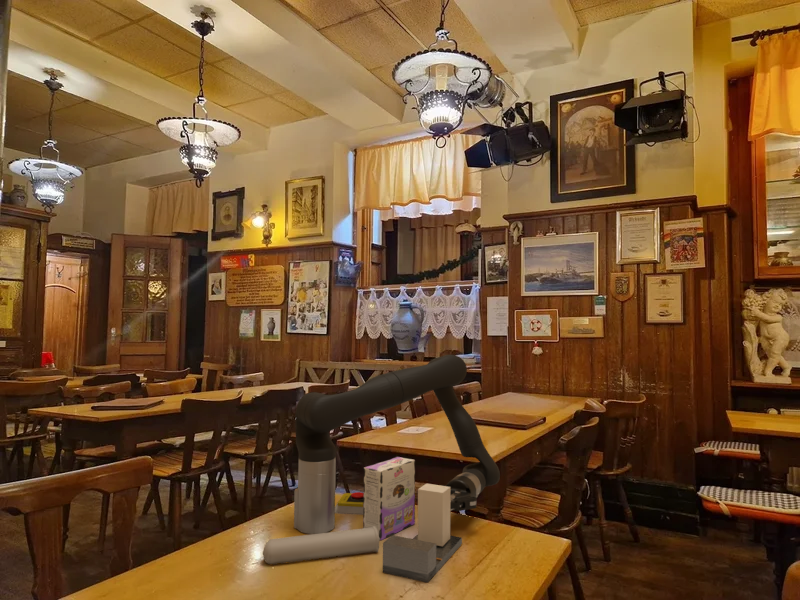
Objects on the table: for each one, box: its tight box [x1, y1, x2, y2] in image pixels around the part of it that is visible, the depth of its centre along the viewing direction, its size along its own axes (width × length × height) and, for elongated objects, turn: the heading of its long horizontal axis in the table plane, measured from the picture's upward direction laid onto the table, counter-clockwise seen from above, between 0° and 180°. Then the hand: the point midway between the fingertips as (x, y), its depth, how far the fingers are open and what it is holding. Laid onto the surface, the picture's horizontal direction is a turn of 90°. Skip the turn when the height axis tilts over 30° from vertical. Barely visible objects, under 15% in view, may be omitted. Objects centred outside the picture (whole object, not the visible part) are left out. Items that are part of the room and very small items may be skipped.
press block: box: [417, 483, 451, 547], centre depth 124 cm, size 6×5×12 cm
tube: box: [262, 526, 380, 565], centre depth 119 cm, size 5×5×25 cm
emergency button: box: [335, 491, 364, 516], centre depth 150 cm, size 9×4×15 cm
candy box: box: [362, 456, 416, 542], centre depth 135 cm, size 14×6×16 cm, turn 142°
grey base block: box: [382, 533, 463, 583], centre depth 119 cm, size 10×21×6 cm, turn 155°
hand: (439, 509), depth 128 cm, fingers closed
